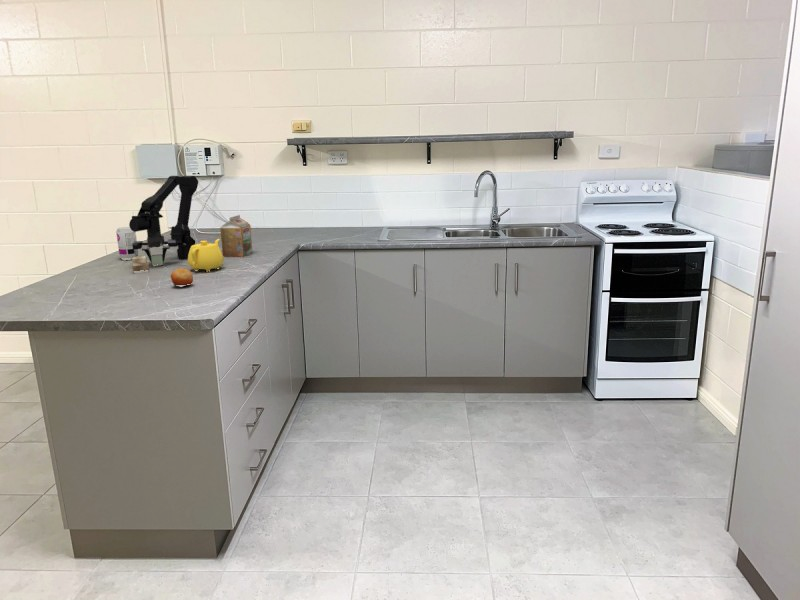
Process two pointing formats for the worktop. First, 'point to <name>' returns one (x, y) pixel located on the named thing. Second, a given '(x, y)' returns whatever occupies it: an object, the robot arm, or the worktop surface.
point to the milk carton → (236, 238)
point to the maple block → (139, 261)
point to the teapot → (205, 256)
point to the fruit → (181, 277)
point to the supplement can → (126, 242)
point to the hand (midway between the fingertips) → (157, 262)
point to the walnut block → (141, 267)
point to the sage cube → (157, 259)
